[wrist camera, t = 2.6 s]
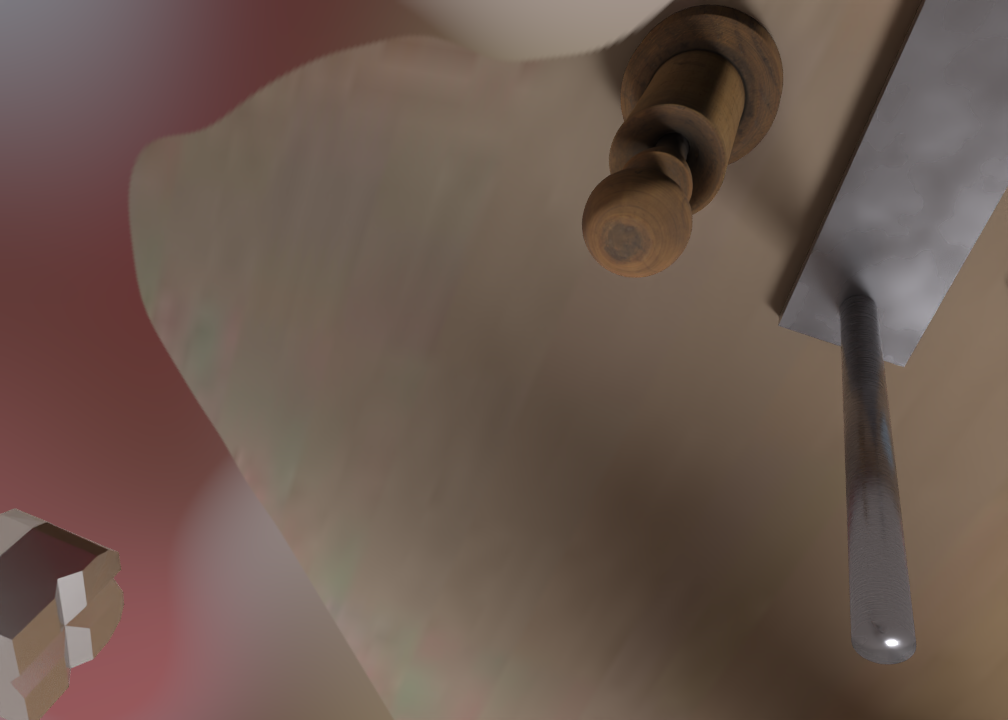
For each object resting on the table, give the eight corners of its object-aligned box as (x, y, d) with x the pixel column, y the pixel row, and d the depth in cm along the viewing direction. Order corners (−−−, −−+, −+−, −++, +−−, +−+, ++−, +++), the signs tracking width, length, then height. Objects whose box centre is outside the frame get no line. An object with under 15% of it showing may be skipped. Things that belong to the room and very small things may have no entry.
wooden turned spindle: (689, 185, 40) (611, 387, 25) (599, 76, 39) (461, 222, 24) (815, 91, 36) (808, 264, 22) (719, -32, 35) (644, 61, 20)
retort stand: (1148, -78, 30) (1571, 30, 13) (902, 356, 41) (959, 728, 24) (975, -120, 31) (1161, -71, 14) (779, 316, 42) (748, 646, 25)
